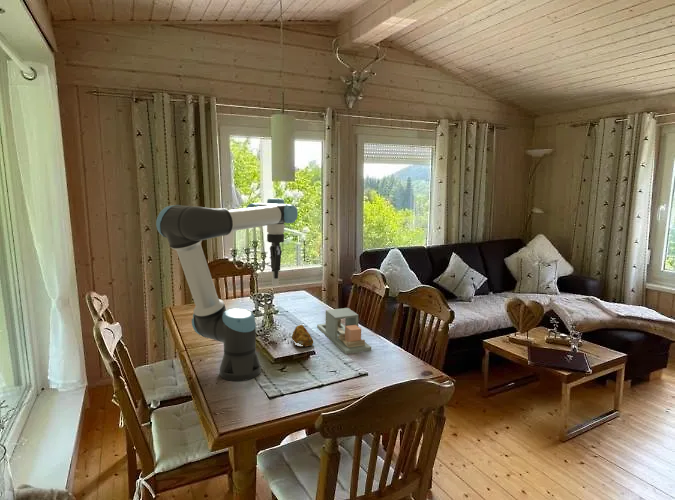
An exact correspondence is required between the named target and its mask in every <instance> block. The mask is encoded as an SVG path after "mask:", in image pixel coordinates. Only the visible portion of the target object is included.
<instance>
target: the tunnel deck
mask: <svg viewBox="0 0 675 500" xmlns="http://www.w3.org/2000/svg"><path fill="white" fill-rule="evenodd" d="M338 319H341V320H345V325H344V324H343V323H342V322H341V329H342V330H343V331H344V332H345V326H349V325H357V326H358V327H359V314H358V313H356V312H355V311H354V310H351V308H350V307H344V308H342V307H341V308H335V309H334V308H333V309H326V310H325V323H318V324H317V325H316V327H317V329H318V330H319V331H320V332H321V333H323V335H324V336H326V338H328V339H329V340H330V341H331V342H332V343H333V344H334V345H335V346H336V347H337V348H339V350H341V352H343V353H344V354H345V355H349V354H357V353H362V352H369V351H372V346H371V345H369V344H368V343H367V342H365V345H363V346H356V347H349V348H348V347H347V346H346V345H345V344H344V343H343V342H342V341H341V340H339V339H338V336H339V335H340V334H339V333H338ZM361 340H363V339H362V338H361Z"/></svg>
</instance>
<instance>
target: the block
mask: <svg viewBox="0 0 675 500" xmlns="http://www.w3.org/2000/svg"><path fill="white" fill-rule="evenodd" d="M344 326H345V325H344ZM345 339H346V340H347V341H348V342H352V341H359V340H361V339H362V328H361V327H359V325H358V326H357V325H349V326H345Z"/></svg>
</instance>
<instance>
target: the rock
mask: <svg viewBox="0 0 675 500" xmlns="http://www.w3.org/2000/svg"><path fill="white" fill-rule="evenodd" d="M291 339H292V341H293V340H294V341H295V342H296V343H299V344H301V345H303V346H305V347H306V348H307V347H310V346H312V345H313V344H314V339H313V337H312V336H311V334H310V333H309V332H308V330H307V328H306V327H305V326H304V325H303V324H299V325H297V326H296V327H295V328H294V330H293V332H292V335H291ZM294 341H293V342H294ZM305 347H304V348H305Z"/></svg>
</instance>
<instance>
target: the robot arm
mask: <svg viewBox="0 0 675 500" xmlns="http://www.w3.org/2000/svg"><path fill="white" fill-rule="evenodd" d="M266 200H267V201H266V203H265V202H264V203H263V202H253V203H248V204H247V206H246V207H245V208H237V209H236V208H234V209H229V210H228V209H227V208H225V207H219V208H218V207H217V208H215V207H203V206H196V205H181V204H175V205H174V204H173V205H168V206H165V207H163V209H161V210H160V211H159V213H158V216H157V217H156V222H155V225H156V226H155V227H156V230H157V232H158V233H159V234H160V235H161V236H162V237H164V238H166V239H167V242H168V244H169V247H170V249H172V250H174V251H176V253H177V256H178V259H179V263H180V265H181V267H182V270H183V273H184V277H185V280H186V282H187V285H188V287H189V291H190V294H191V296H192V300H193V303H194V304H195V307H194V309H193V314H192V319H191V326H192V329H193V330H194V332H195V333H196V334H197V335H199V336H201V337H203V338H206V339H210V340H214V341H217V342H220V343H223V355H222V360H221V362H220V365H219V376H220V377H221V378H222V379H223V380H226V381H232V382H241V381H247V380H250V379H254V378H255V377H256V378H257V377H258V375H260V374H261V371H262V369H261V367H262V366H261V362H260V360H259V357H258V354H257V348H256V343H257V342H256V341H257V340H256V339H257V338H256V337H257V335H256V334H257V331H256V329H257V327H256V326H257V323H256V317H255V315H254V313H253V312H252V311H250V310H248V309H245V308H238V307H237V308H235V307H234V308H229V309H227V307H226V306H225V301H224V300H223V299H220V298H219V296H218V293H217V290H216V286H215V284H214V282H213V281H214V280H213V278H212V273H211V272H210V268H209V265H208V262H207V259H206V256H205V253H204V250H203V247H202V242H203V241H206V240H210V239H214V238H219V237H225V236H228V235H230V234H231V233H232V232H236V231H242V230H247V229H252V228H258V227H265V226H266V233H267V236H266V242H268V243H271V245H270V247H269V251H270V252H269V253H270V269H271V284H272V286H273V287H274V286H280V285H279V282H280V276H279V275H280V271H281V260H282V249H281V248H282V247H281V244H280V243H284V242H285V234H284V233H285V228H286V225H285V224H293V223H295V222H296V221H297V219H298V216H299V215H298V213H299V212H298V208H297V207H296V205H294V204H289V203H287V204H286V203H285V200H284V199H283V198H267V199H266ZM254 206H255V207H254Z"/></svg>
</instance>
